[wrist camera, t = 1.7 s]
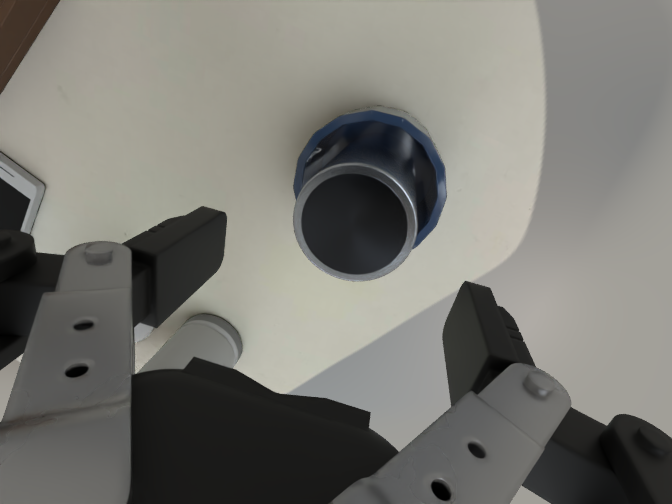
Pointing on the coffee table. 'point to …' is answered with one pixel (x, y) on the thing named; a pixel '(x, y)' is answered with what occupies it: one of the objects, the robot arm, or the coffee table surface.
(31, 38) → the tray
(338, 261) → the silver cup
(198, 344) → the travel mug
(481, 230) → the coffee table surface
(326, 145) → the bucket
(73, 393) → the robot arm
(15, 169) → the smartphone
